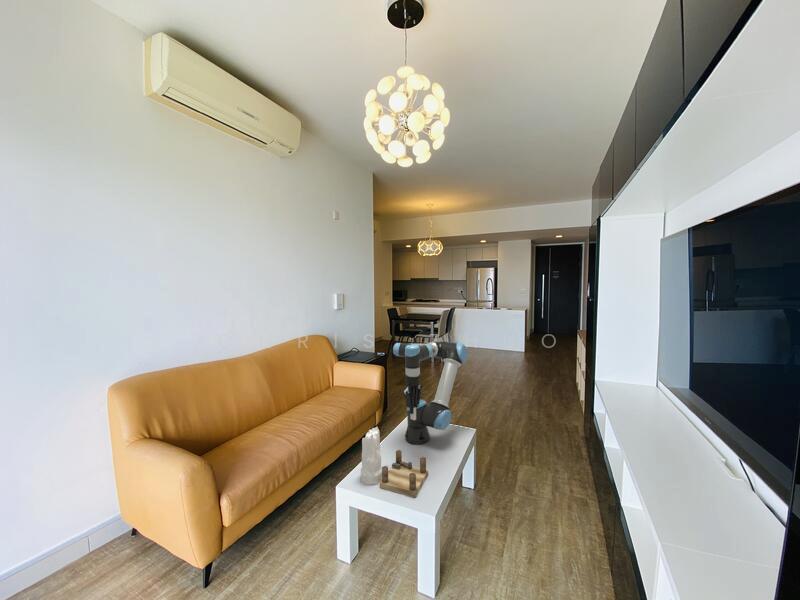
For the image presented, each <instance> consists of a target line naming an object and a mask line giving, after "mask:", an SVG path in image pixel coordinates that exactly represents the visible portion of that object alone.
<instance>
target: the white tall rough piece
mask: <svg viewBox="0 0 800 600" xmlns="http://www.w3.org/2000/svg"><path fill="white" fill-rule="evenodd" d="M380 437H381V436H380V429H379V427H378V426H376V427H373V428H372V429H368V431H367V432H366V434H365V437H362V440H361V446H362V447H361V449H362V451H361V468H360V482H361V483H362V484H364V485H367V486H375V485H377V484H380V481H381V480H382V467H383V466H382V455H381V449H380V448H381V438H380Z"/></svg>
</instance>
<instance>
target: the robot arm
mask: <svg viewBox="0 0 800 600" xmlns="http://www.w3.org/2000/svg"><path fill="white" fill-rule="evenodd" d="M392 353H393V355H394V356H396V357H401V358H404V359H405V361H404V362H405V364H404V365H405V383H406V387H405V388H406V389H405V390H403V391H402V393H403V395H404V398H405V399H404V401H405V404H406V407H407V408H406V412H407V413H406V414H407V427H406V430H405V433H404V440H405V441H406V442H407V443H408V444H411V445H418V446H419V445H423V444H427V443H428V442H429V441H430V436H431V435H430V432H429V430H428V427H429V428H433V429H435V430H439V431H440V430H441V431H445V430H446V429H447V428H448V427H449V425H450V423H451V420H452V412H451V411H450V406H449V403H450V398H451V394H452V391H453V387H454V384H455V383H454V382H455V380H456V376H457V372H458V370H459V368H460V367H461V366H462V363H466V361H467V359H468V350H467V346H466V345H465V344H464V343H461V342H453V341H452V342H451V341H445V340H444V341H443V340H442V341H430V342H428V343H402V342H396V343H394V345H393V347H392ZM430 358H436V359H441V360H443V362H444V365H443V369H442V372H441V376H440V379H439V382H438V385H437V389H436V392H435V396H434V399H433V400H431V401H430V404H429V405H428V404H427V401H426V400H424V399H421V393H422V389H423V385H421V384H420V382H421V367H420V365H421V364H420V363H421V362H422V361H425V360H428V359H430Z"/></svg>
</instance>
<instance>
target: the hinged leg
mask: <svg viewBox="0 0 800 600" xmlns="http://www.w3.org/2000/svg"><path fill="white" fill-rule="evenodd" d="M402 453H403V452H402V450H400V449H397V450H395V462H396V464H400V465H402V466H405V467H407V468H409V469H411V468H412V466H413V463H412V461H410V462H409V461H408V462H406V461H403V459H402V458H403V457H402V455H403V454H402Z"/></svg>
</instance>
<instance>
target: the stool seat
mask: <svg viewBox="0 0 800 600" xmlns="http://www.w3.org/2000/svg"><path fill="white" fill-rule="evenodd" d="M428 477H429V469H427V458H426V457H424V456H421V457H420V458H419V467H418V466H417V467H416V466H414V465H412V468H411V469H409V468H407V467H405V466H402V465H400V464H396V461H395V462H392V463H391V468H390V469H389V467H388V466H386V465H383V466H382V480H381V481H380V482H379V488H380V489H382V490H385V491H386V490H387V491H390V492H393V493H397V494H401V495H405V496H408V497H412V498H416V497H417V496H418V494H419V492H420V490H421V489H422V487H423V485H424V483H425V481H426V480H427V478H428Z"/></svg>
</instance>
